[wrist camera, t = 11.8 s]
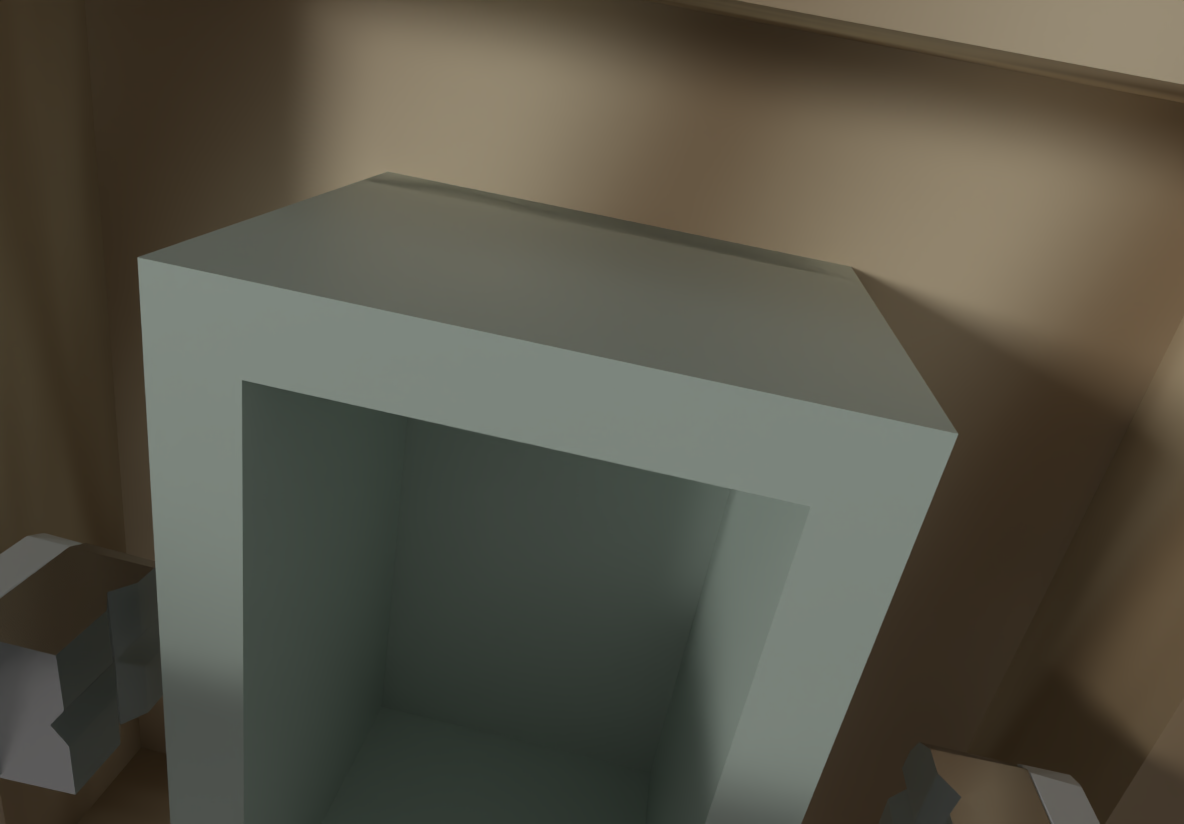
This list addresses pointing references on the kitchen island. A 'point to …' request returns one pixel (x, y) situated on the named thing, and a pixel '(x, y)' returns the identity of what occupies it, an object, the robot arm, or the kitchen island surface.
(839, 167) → the big crate
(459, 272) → the box
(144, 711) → the robot arm
